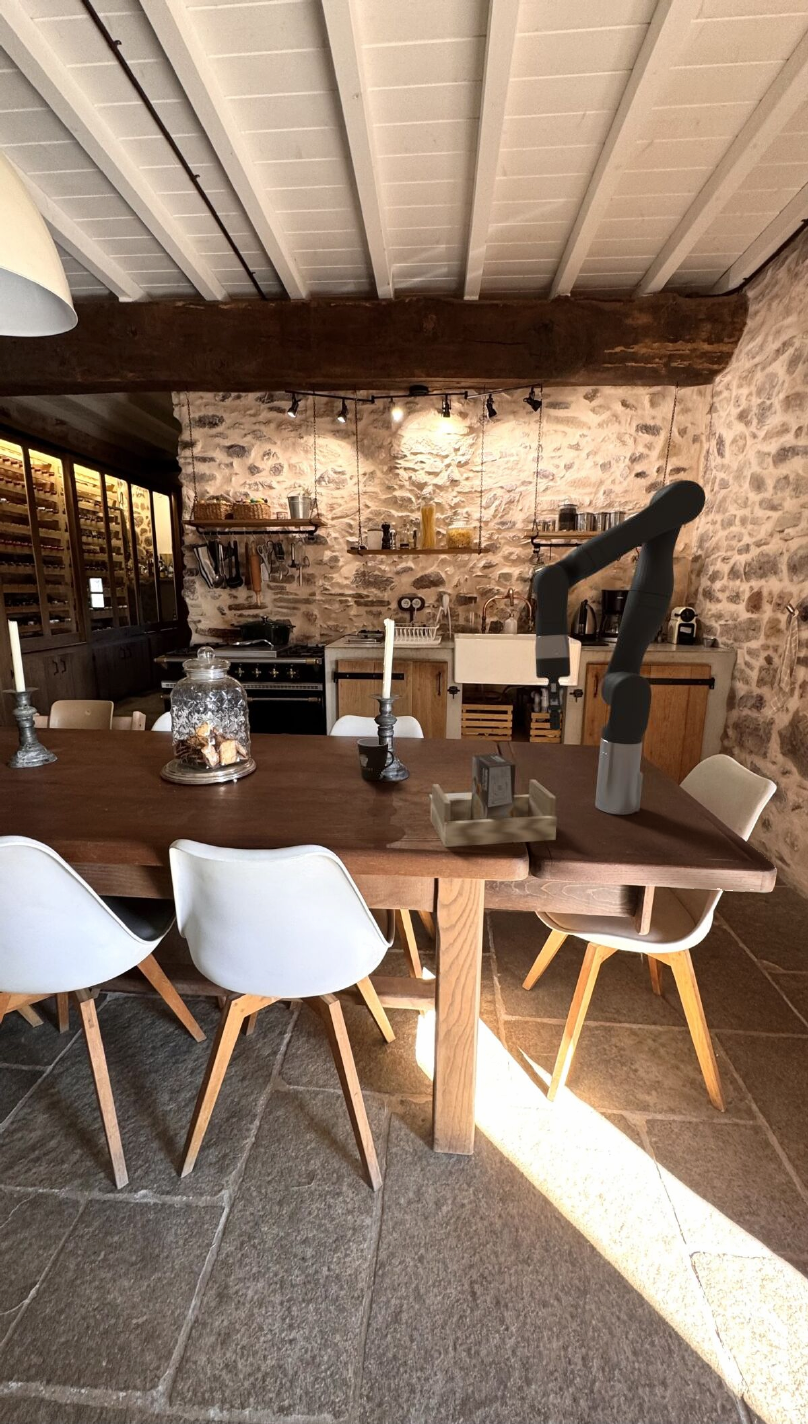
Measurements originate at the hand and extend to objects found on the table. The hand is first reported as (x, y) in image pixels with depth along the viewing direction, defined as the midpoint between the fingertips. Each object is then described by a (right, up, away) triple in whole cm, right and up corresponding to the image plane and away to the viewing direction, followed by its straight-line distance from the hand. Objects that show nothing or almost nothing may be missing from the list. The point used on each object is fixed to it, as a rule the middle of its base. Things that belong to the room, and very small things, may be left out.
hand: (555, 727), depth 133 cm
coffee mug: (-43, -15, +29) cm, 53 cm away
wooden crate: (-15, -22, -5) cm, 27 cm away
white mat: (-18, -19, +11) cm, 28 cm away
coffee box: (-15, -23, -5) cm, 28 cm away
